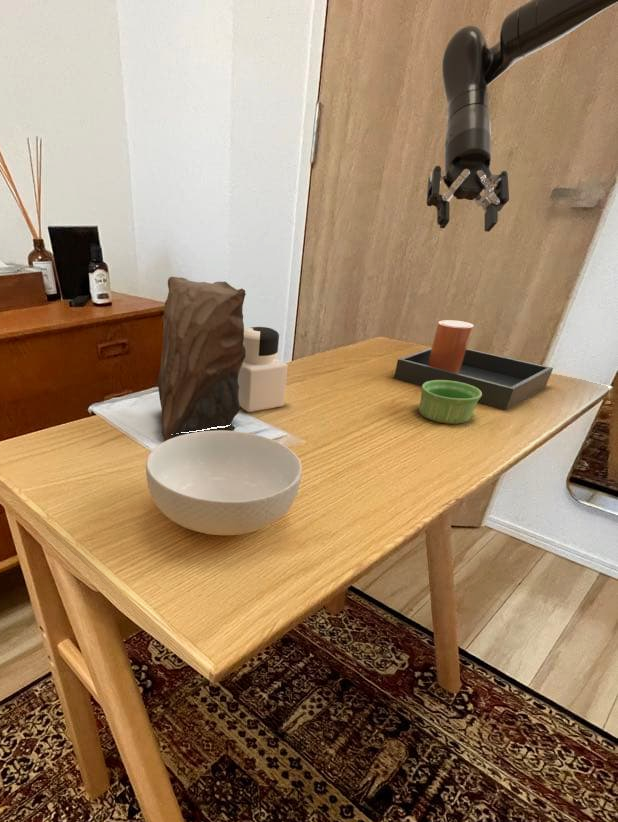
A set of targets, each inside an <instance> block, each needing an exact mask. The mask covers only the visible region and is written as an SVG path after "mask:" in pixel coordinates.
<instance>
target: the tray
mask: <svg viewBox="0 0 618 822" xmlns="http://www.w3.org/2000/svg"><path fill="white" fill-rule="evenodd" d="M431 348H432V346H431V347H429V348H425V349H423V350H420V351H418V352H414V353H411V354H409V355H406V356H404V357H400V358H398V359H397V361H396V366H395V371H394V375H393V379H395V380H400V381H403V382H406V383H410V384H414V385H417V386H421V387H422V385H423V384H424V383H425V382H428V381H433V380H450V381H457V382H462V383H466V384H469V385H472V386H474V387H476V388H478V389H479V390H480V391H481V392H482V396H481V398H480V399H479V400H478V402H477V403H480V404H483V405H487V406H489V407H490V406H491V407H493V408H498V409H501V410H505V411H507V410H509V409H510V408H512V407H514V406H515V405H517V404H519V403H521V402H522V401H524V400H526V399H527V398H529V397H531V396H533V395H534V394H536V393H537V392H539V391H541V390H543V389H545V388H546V386H547V384H548V382H549V379H550V377H551V375H552V372H553V369H554V367H550V366H548V365H547V366H546V365H542V364H538V363H533V362H529V361H524V360H519V359H516V358H511V357H507V356H502V355H498V354H493V353H489V352H484V351H480V350H475V349H471V348H467V350H466V353H465V356H464V360H463V363H462V366H461V369H460V373H459V374H458V373H454V372H451V371H447V370H443V369H439V368H435V367H431V366H427V364H428V360H429V356H430V352H431Z"/></svg>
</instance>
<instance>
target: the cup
mask: <svg viewBox="0 0 618 822" xmlns="http://www.w3.org/2000/svg"><path fill="white" fill-rule="evenodd" d="M473 330H474V324H473V323H471V322H467V321H463V320H455V319H454V320H453V319H448V320H447V319H444V320H443V319H442V320H439V321H438V323H437V326H436V330H435V333H434V338H433V342H432V345H431V347H432V348H431V347H430V348H431V352H430V356H429V360H428V364H427V366H431V367H435V368H439V369H443V370H447V371H451V372H454V373H458V374H459V373H460V369H461V366H462V363H463V360H464V356H465V353H466V350H467V349H468V347H469V343H470V340H471V337H472V333H473Z"/></svg>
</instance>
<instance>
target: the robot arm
mask: <svg viewBox="0 0 618 822" xmlns="http://www.w3.org/2000/svg"><path fill="white" fill-rule="evenodd" d="M617 3H618V0H529V1H527V2H525V3H524V4H522V5H521V6H518V7H517V8H516V9H514V10H512V11H511V12H510V13H508V14H507V15H506V16H505V17H504V19H503V21H502V23H501V26H500V31H499V41H497V42H496V43H495V44H494V45H492V46H490V47H489V44H488V42H487V40H486V37H485V34H484V33H483V31H482V29H481V28H480V27H478V26H476V25H473V24H472V25H471V24H470V25H469V24H468V25H465V26H463V27H461V28H460V29H458V30H457V31H456V32H455V33H454V34H453V35H452V36H451V38H450V39H449V41H448V42H447V44H446V46H445V48H444V51H443V55H442V58H441V59H442V60H441V73H442V74H441V75H442V81H443V87H444V93H445V97H446V103H447V109H446V134H445V142H444V149H445V151H444V152H445V153H444V154H445V155H444V156H445V158H444V164H445V165H444V170H442V167H441V166H440V165H435V166H434V168H433V170H431V171H432V172H431V173H430V175H429V176H428V180H427V190H426V191H427V192H426V206H427V207H432V206H433V207H434V208H435V209H436V219H437V220H436V223H437V225H438V226H439V229H445V228H446V227H447V226H448V224H449V222H450V219H451V218H450V217H451V216H450V215H451V214H450V211H451V210H450V201H451V199H452V198H453V197H454V198H455V199H456V200H467V201H474V202H475V204H476V205H477V206H478V207H481V208H482V209H483V211H484V212H485V213H484V232H485V233H486V232H488V233H489V232H490V231H492V229H494V227H495V226H496V225H497V223H498V221H499V212H501V210H503V208H504V206H505V205H507V203H508V202H509V200H510V189H509V176H508V175H509V174H508V171H506V170H502V171H501V172H500V174H493V173H492V171H491V169H490V167H491V159H492V123H491V117H490V91H489V85H491V84H492V83H493V82H494V81H495V80H496V79H498V78H499V77H500V76H501V75H502V74H504V73H505V72H506V71H507V70H508V69H510V68H511V67H512V66H513V65H515V64H516V63H517V62H519V61H520V60H522V59H524V58H526V57H528V56H530V55H532V54H534V53H536V52H538V51H540V50H542V49H543V48H546V47H547V46H549V45H551V44H553V43H555V42H557V41H558V40H560V39H561V38H563V37H565V36H566V35H569V34H570V33H571V32H573V31H574V30H576V29H577V28H579V27H580V26H582V25H583V24H585V23H586V22H587V21H589V20H590V19H593V18H594V17H595V16H597V15H598V14H600V13H601V12H603V11H605V10H606V9H608V8H610V7H612V6H613V5H615V4H617ZM442 181H443V184H444V185H445V186H446V187H447V190H446V191H445V192H444V194H443V195H442V194H441V193H440V191H441V189H440V188H441V183H442ZM483 191H484V193H483V195H481V193H482V192H483Z"/></svg>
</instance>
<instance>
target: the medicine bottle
mask: <svg viewBox="0 0 618 822" xmlns="http://www.w3.org/2000/svg"><path fill="white" fill-rule="evenodd" d="M279 340H280V333H279V332H278V331H277V330H276V329H274V328H271V327H266V326H252V327H248V328H246V329H244V341H243V345H244V347H245V351H246V354H245V356H246V357H245V359H244V361H243V363H242V366H241V369H240V372H239V376H238V384H239V404H240V409H242V410H244V411H245V412H247V413H254V412H258V411H264V410H270V409H275V408H281V407H283V406H284V405H285V397H286V388H287V387H286V386H287V378H288V377H287V376H288V363H286V362H284V361H282V360H280V359H278V353H279V343H280V341H279Z"/></svg>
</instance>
